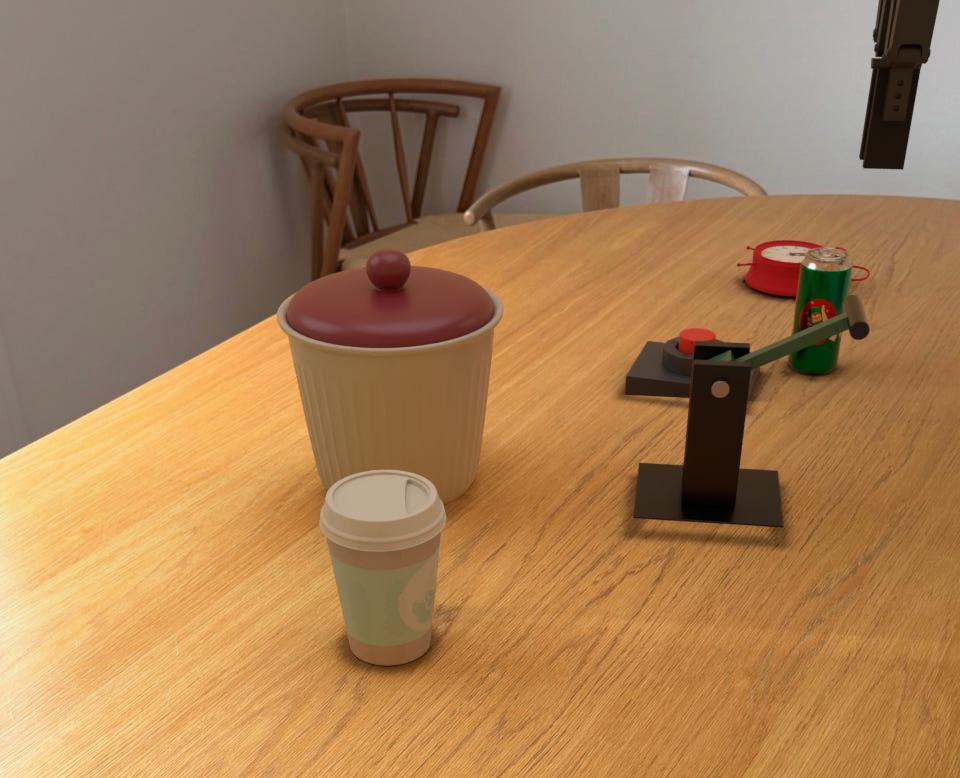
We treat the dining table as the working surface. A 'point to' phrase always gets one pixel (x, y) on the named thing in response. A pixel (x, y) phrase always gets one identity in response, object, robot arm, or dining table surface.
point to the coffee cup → (385, 561)
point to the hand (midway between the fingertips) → (880, 162)
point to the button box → (665, 371)
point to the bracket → (712, 453)
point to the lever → (809, 335)
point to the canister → (394, 369)
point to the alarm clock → (780, 266)
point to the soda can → (820, 306)
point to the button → (694, 339)
